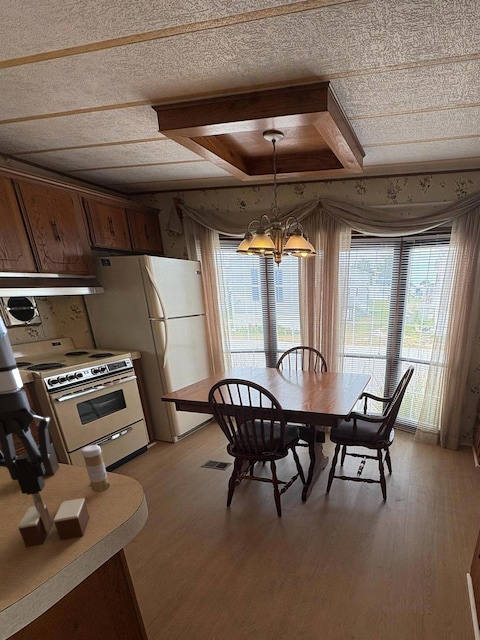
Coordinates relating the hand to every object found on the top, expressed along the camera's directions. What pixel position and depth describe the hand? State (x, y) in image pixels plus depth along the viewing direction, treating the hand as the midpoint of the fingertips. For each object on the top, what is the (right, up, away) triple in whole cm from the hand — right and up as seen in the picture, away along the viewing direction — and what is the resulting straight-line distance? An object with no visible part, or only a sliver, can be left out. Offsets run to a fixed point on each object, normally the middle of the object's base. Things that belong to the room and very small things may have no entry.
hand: (33, 489), depth 78 cm
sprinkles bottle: (0, -4, +24) cm, 24 cm away
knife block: (-20, -1, +29) cm, 35 cm away
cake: (+5, -11, +7) cm, 14 cm away
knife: (0, -11, +4) cm, 11 cm away
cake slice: (-2, -12, +4) cm, 13 cm away
